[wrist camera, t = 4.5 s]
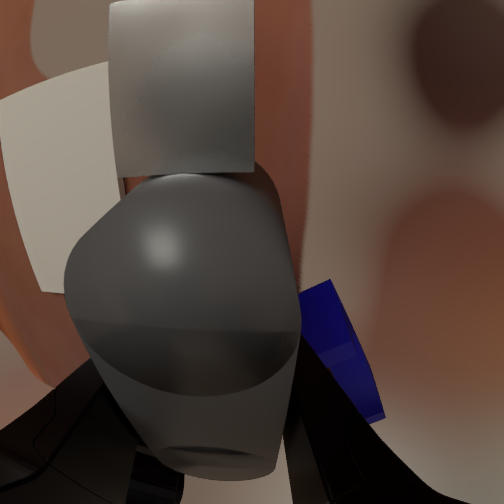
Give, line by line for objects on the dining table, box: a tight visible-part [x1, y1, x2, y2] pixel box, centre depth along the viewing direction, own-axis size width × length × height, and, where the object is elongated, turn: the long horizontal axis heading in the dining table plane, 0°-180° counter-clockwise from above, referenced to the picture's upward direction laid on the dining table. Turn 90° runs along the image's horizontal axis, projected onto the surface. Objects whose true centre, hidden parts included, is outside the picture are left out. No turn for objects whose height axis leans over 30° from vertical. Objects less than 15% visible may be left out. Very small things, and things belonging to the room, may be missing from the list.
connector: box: [64, 0, 302, 481], centre depth 6 cm, size 4×12×4 cm, turn 0°
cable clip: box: [298, 279, 386, 424], centre depth 21 cm, size 12×4×6 cm, turn 29°
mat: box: [0, 61, 126, 293], centre depth 17 cm, size 16×10×1 cm, turn 0°
